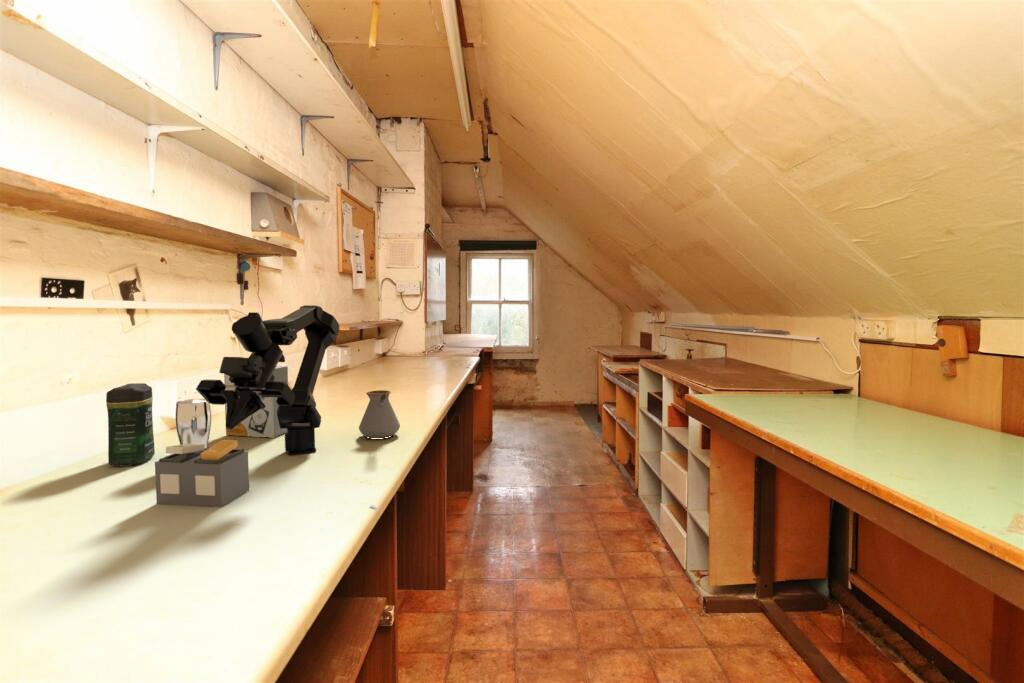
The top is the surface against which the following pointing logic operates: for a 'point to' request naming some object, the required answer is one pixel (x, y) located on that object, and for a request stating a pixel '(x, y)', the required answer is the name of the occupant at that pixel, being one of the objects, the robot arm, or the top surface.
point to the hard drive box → (261, 414)
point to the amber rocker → (219, 450)
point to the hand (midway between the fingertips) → (228, 428)
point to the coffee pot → (379, 416)
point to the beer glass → (193, 421)
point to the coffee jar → (130, 424)
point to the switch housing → (201, 479)
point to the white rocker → (185, 448)
